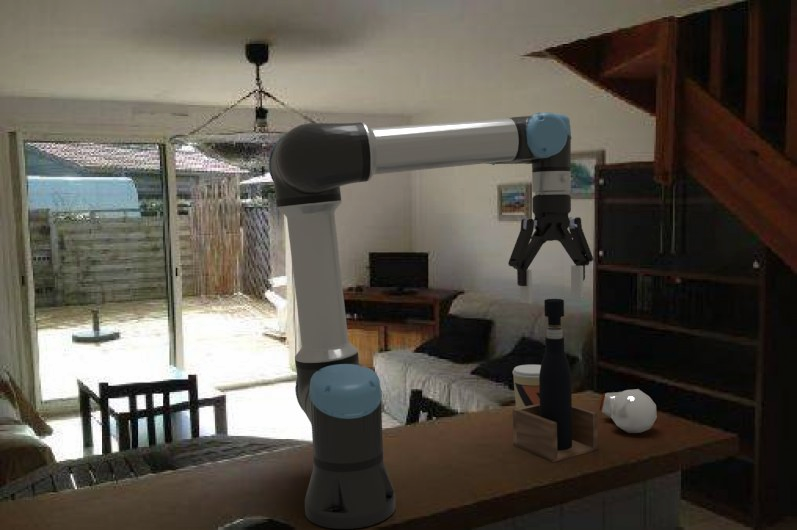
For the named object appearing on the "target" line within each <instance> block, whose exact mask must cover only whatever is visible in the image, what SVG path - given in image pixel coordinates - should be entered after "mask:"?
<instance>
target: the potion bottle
mask: <svg viewBox="0 0 797 530" xmlns="http://www.w3.org/2000/svg"><path fill="white" fill-rule="evenodd" d="M599 411H600V412H602V414H605V415H606V416H607V417H608V418H611V419H612V421H613V422H614V424H615V425H616V426H617V427H618V428H620V429H621V430H623V432H626V433H627V434H638V433H639V434H641V433H643V432H645V431H649V430H651V429H652V426H653V425H654V424H655V421H656V420H657V419H658V415H657V405H656V403H655V402H654V401H653V399H652V398H651V397H650V396H649V395H648V394H646V393H645V392H643V391H642V390H640V389H639V388H637V389H626V390H623V391H618V392H617V391H616V392H606V393H605V392H604V393H603V394H602V398H601V401H600V405H599Z"/></svg>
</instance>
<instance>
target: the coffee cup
mask: <svg viewBox="0 0 797 530" xmlns="http://www.w3.org/2000/svg"><path fill="white" fill-rule="evenodd" d="M540 368H541V364H521V365H517V366H515V367H514V368H513V370H512V375H513V386H514V387H513V389H514V390H513V391H514V399H515V400H514V401H515V409H516V408H521V407H525V406H530V405H534V404H539V403H540V393H539V375H540Z"/></svg>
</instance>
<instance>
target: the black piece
mask: <svg viewBox="0 0 797 530" xmlns="http://www.w3.org/2000/svg"><path fill="white" fill-rule="evenodd" d="M543 304H544V317H546V318H547V326H548V327H546V331H545V332H546V334H545V336H546V337H545V338H544V344H545V345H544V346H545V351H544V354H543V358H542V361H541V364H540V365H541V368H540V375H539V393H540V417H543V418H545V419H548V420H551V421H554V422H556V423H557V450H566V449H569V448H571V447H572V405H573V403H572V401H573V399H572V397H573V395H572V391H573V390H572V372H571V367H570V363H569V360H568V357H567V355H566V352H565V337H563V336H564V334H563V333H564V330H563V328H562V327H561V326H562V323H561V322H562V320H561V319H562V318H563V317H565V301H564V299H561V298H547V299H544V303H543Z"/></svg>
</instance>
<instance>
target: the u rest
mask: <svg viewBox="0 0 797 530" xmlns="http://www.w3.org/2000/svg"><path fill="white" fill-rule="evenodd" d="M598 425H599V424H598V412H595V411H593V410H589V409H587V408H583V407H580V406H577V405H573V404H572V447H571V448H569V449H566V450H557V423H556V422H554V421H551V420H548V419H545V418H543V417H540V403H539V404H534V405H530V406H525V407H521V408H516V407H515V408H513V409H512V439H513V440H512V443H513V446H515V447H518V448H520V449H522V450H524V451H527V452H529V453H532V454H534V455H535V456H538V457H541V458H542V459H545V460H546V461H549V462H552V463H554V462H559V461H562V460H565V459H570V458H574V457H576V456H579V455H584V454H586V453H591V452H593V451H594V452H595V451H597V450H598V451H599V442H598V441H599V440H598V439H599V438H598V435H599V433H598V432H599V431H598V429H599V427H598Z"/></svg>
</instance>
